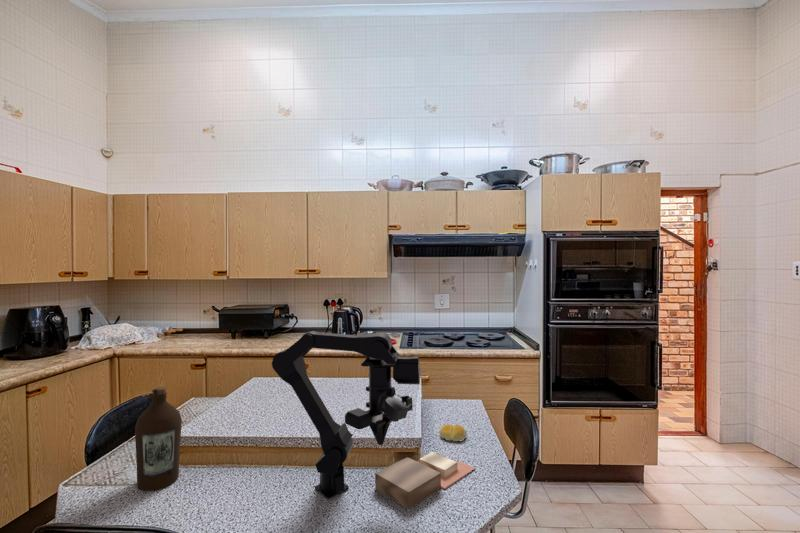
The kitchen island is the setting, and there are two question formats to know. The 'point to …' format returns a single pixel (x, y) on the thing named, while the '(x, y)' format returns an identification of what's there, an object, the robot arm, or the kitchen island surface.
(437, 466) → the cream rectangular block
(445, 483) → the mat
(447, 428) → the bread roll
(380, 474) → the panel
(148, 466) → the olive oil
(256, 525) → the kitchen island surface
